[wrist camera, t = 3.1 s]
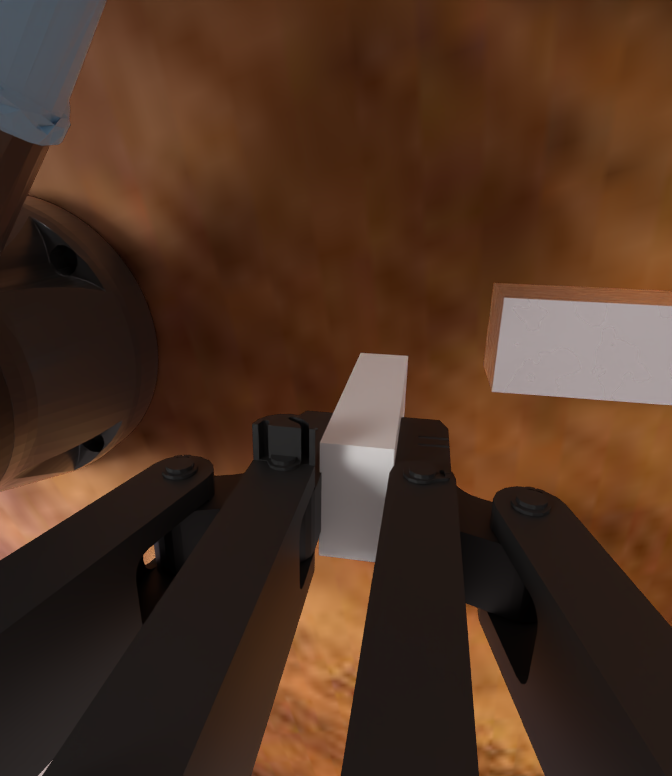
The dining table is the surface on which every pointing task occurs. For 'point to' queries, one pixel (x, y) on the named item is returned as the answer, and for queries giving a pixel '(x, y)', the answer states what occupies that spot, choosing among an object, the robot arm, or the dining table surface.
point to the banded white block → (580, 342)
